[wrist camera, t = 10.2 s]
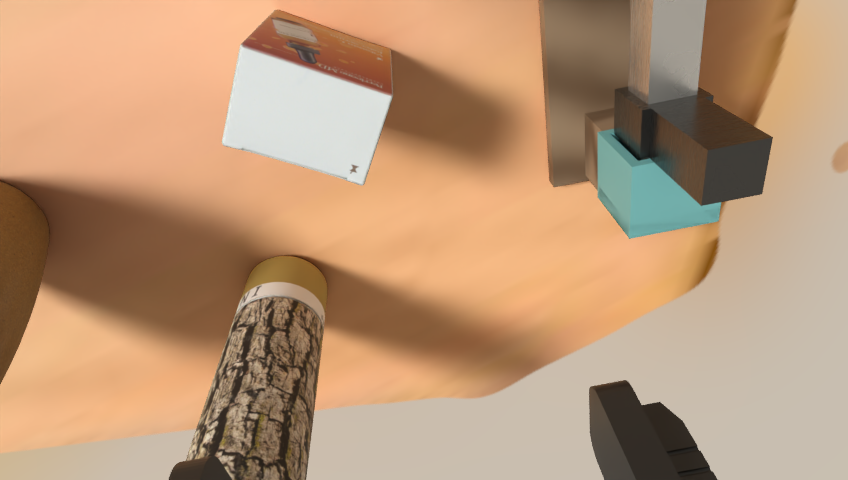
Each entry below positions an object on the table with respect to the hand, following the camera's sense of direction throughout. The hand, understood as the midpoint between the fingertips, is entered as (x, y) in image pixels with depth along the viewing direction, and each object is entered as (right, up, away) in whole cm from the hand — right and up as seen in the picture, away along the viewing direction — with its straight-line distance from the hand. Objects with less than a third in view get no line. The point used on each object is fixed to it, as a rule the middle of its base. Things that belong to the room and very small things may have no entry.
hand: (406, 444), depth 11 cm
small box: (-7, +16, +25) cm, 31 cm away
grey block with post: (+14, +17, +20) cm, 29 cm away
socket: (+15, +10, +25) cm, 31 cm away
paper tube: (-11, +1, +35) cm, 36 cm away
